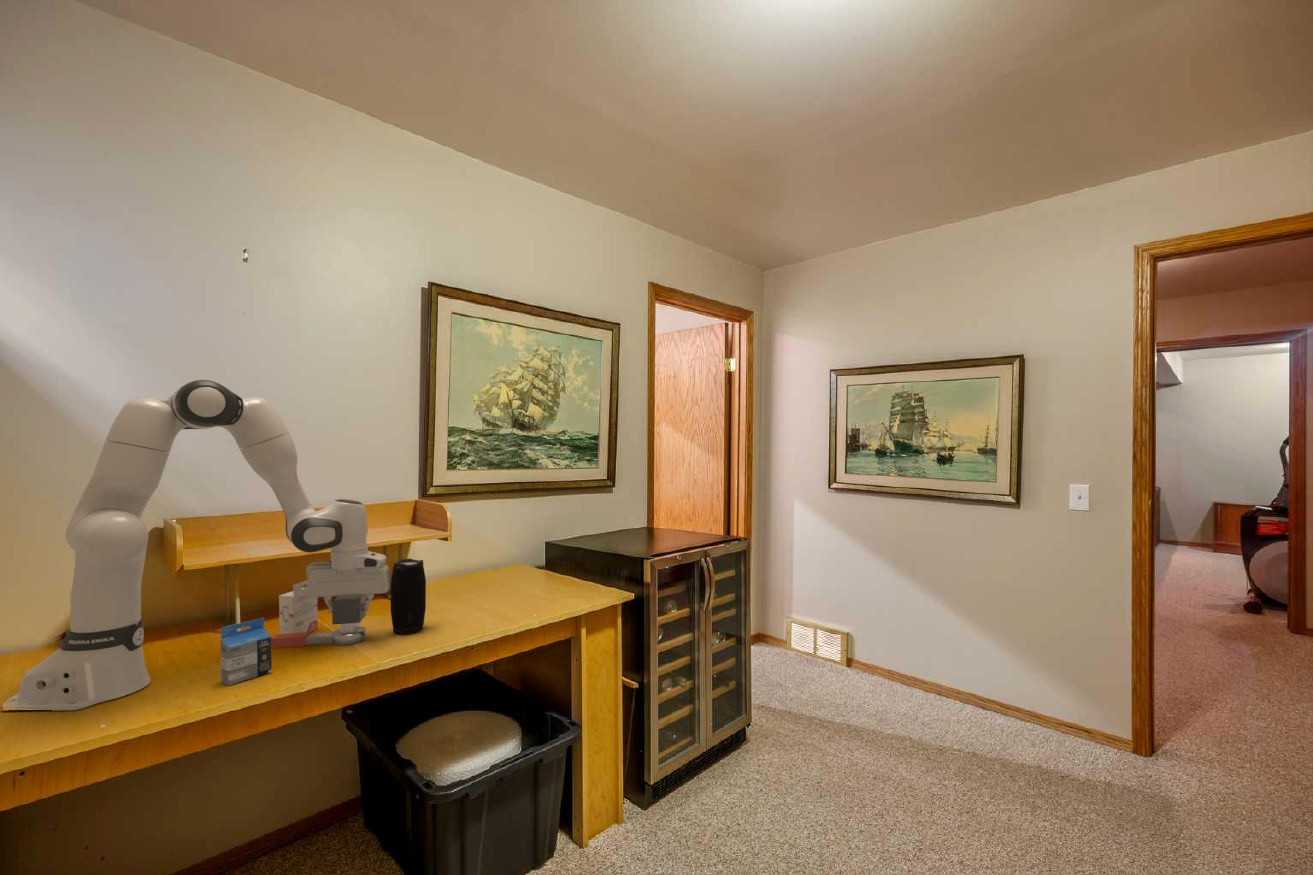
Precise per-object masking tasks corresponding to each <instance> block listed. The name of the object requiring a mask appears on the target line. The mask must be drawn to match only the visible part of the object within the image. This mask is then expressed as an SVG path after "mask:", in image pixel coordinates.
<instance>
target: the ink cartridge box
mask: <svg viewBox="0 0 1313 875" xmlns="http://www.w3.org/2000/svg"><path fill="white" fill-rule="evenodd" d="M305 585H306V586H307V580H304V581H302V582H301V581H300V582H299V583H295V584H293V585H292V589H293V590H292V591H290V592H286V593H284V594H283V593H282V594H280V595H278V606H279V608H278V610H279V611H278V612H279V614H278V616H279V617H278V619H279V620H278V621H279V623H278V624H279V634H289V633H304V632H310V633H313V632H314V631H317V630H318V628H319V626H318V620H319V619H318V618H319V617H318V615H319V614H318V609H319V608H318V597H311V598H310V597H308V596H307V595H306V587H304V586H305Z"/></svg>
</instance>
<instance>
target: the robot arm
mask: <svg viewBox="0 0 1313 875" xmlns="http://www.w3.org/2000/svg"><path fill="white" fill-rule="evenodd" d="M215 427H220V428H223V429H225V430H226V431H228V432H229V433H230V435H231V436H232V437H233V439H234V441H235V443H236V445H237V446H238V449H239V451H240V452H241V454H242V456H243V458H244V459H245V460H246V462H247V464H248V465H249V467H251V469H252V470H253V471H254V472H255V473H256V475H258V476H259V477H260V478H261V479H262V480H264V481H265V482H266V484H268V486H270V488H271V490H272V492H273V493H274V495H275V497H276V499H277V502H278V503H279V505H280V507H281V508H282V511H283V514H284V516H285V535H286V537H287V539H288V540H289V542H290V543H291V544H292V545H293V547H295V548H296V549H297V550H299V551H301V552H303V553H316V552H321V551H325V550H328V549H330V560H322V561H320V560H319V561H318V560H316V561H315V560H314V561H312V562H311V563H309V564H307V566H306V568H305V569H306V570H305V572H306V573H305V574H306V577H307V579H306V581H307V585H306V586H305V588H306V595H307V596H308V597H310V598H311V597H317V598H323V602H324V603H325V604H326V605H327V607H328V613H329V614H332V602H333V601H332V599H333V597H338V596H345V595H363V594H366V599H367V600H366V603H363V604H362V611H366V612H367V611H369V610H370V603H371V602H372V599H373V598H374V596H375V595H376V594H377V595H378V594H386V593H388V592H389V591H390V590H391V578H392V576H391V572H390V571H391V570H390V568H389V566H388V565H387V564H386V562H387V556H386V555H385V554H382V553H378V552H374V551H370V550H369V545H368V543H367V542H368V541H367V535H368V534H369V533H368V531H369V527H368V526H369V525H368V522H369V521H368V512H367V508H366V506H365V505H364V504H363V503H362V502H360V501H358V500H352V499H341V498H340V499H335V500H334V501H333V502H332V503H330V504H328V505H326V506H325V507H322V508H320V509H318V510H317V509H316V508H314V507H313V506H312V504H311V503H310V500H309V499H308V497H307V495H306V492H305V491H304V489H303V487H302V484H301V482H300V480H299V477H298V473H297V466H298V465H297V464H298V454H297V449H296V446H295V443H294V441H293V438H292V435H291V433H290V432H289V429H288V428H287V426H286V424H285V422H284V421H283V419H282V417H281V416H280V414H279V413H278V412H277V410H276V409H275V407H273V405H272V403H271V402H270V401H268V400H267V399H265V398H263V397H259V396H249V397H245V398H242V397H241V396H239V395H237V394H236V393H234V392H233V391H231V390H230V389H229V388H227V387H226V386H224V385H222V384H221V383H219V382H216V381H214V380H209V379H198V380H193V381H190V382H188V383H185V384H184V385H182V386H181V387H179V388H178V389H177V390H176V391H175V392H174V393H173V394H172V395H171V396H170V397H168V398H167V399H156V398H152V397H151V398H150V397H140V398H139V397H138V398H134V399H130V400H129V401H128V402H125V404H124V406H123V407H122V408H121V410H120V411H119V413H118V415H117V416H116V417H115V419H114V421H113V423H112V425H111V427H110V429H109V431H108V434H107V435H106V439H105V441H104V443H103V446H102V448H101V451H100V454H99V456H98V460H97V463H96V464H95V468H94V471H93V472H92V475H91V478H90V479H89V482H88V483H87V485H86V487H85V489H84V490H83V492H82V495H81V497H80V499H79V501H78V503H77V505H76V507H75V509H74V511H73V513H72V516H71V517H70V520H69V522H68V524H67V527H66V530H65V540H66V543H67V544H68V546H69V547H70V548H71V550H73V551H74V553H75V556H74V557H75V558H74V570H73V579H72V585H71V590H70V596H69V597H70V599H69V600H70V604H69V606H70V609H69V610H70V614H69V615H70V617H69V618H70V619H69V620H70V621H69V622H70V623H69V624H70V625H69V629H67V630H66V631H63V632H62V633H61V634H59V635H56V636H54V637H53V639H55V640H54V641H53V643H57V642H61V644H60V645H59V648H58V649H56V650H55V651H54V652H52V653H51V654H50V655H48V656H47V657H45V658H44V659H42V660H41V661H40V662H38V663H37V664H36V665H34V666H33V667H32V668H30V669H29V670H27V671H26V673H24V675H23V677H22V678H21V681H20V685H19V688H18V692H17V693H16V694H14V695H13V696H11V697H9V698H8V699H7V700H5V701H4V702H3V703H2V706H1V708H2V707H14V708H25V709H35V710H52V711H77V710H81V709H85V708H88V707H90V706H93V705H96V704H99V703H100V704H101V703H103V702H108V701H111V700H115V699H118V698H121V697H126V696H127V695H131V694H133V693H135V692H137V691H139V690H142V689H143V688H145V687H147V686H148V685H149V684H150V683H151V681H152V679H151V678H150V675H149V672H148V670H147V666H146V662H145V658H144V657H145V656H144V652H143V644H144V639H145V638H144V636H145V632H144V628H145V626H144V619H143V618H142V616H141V615H142V580H143V574H144V570H145V569H144V568H145V564H146V556H147V548H148V542H149V530H148V528H147V525H146V523H145V522H144V520H142V518H141V517H142V515H143V513H144V512H145V511H144V510H145V508H146V506H147V505H148V503H149V501H150V500H151V498H152V496H153V495H154V493H155V492H156V491H157V489H158V487H159V485H160V481H161V479H162V477H163V474H164V471H165V468H166V464H167V461H168V459H169V456H170V453H171V450H172V447H173V444H174V441H175V439H176V438H177V435H178V434H179V433H180V432H181V431H182V430H206V429H212V428H215ZM7 701H8V702H7ZM10 701H13V702H10ZM6 702H7V703H6Z"/></svg>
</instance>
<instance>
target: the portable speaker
mask: <svg viewBox="0 0 1313 875" xmlns="http://www.w3.org/2000/svg"><path fill="white" fill-rule="evenodd" d="M391 572H392V573H391V588H390V616H391V623H392V625H391V626H392V631H393V633H396V632H399V633H400V634H401V635H402V636H405V635H413V634H416V633H417V632H418V630H421V629H423V628H424V625H425V618H426V616H425V615H426V607H427V605H426V604H427V603H426V600H427V595H426V594H427V578H426V573H425V568H424V559H420V560H417V559H413V558H403V559H399V560H398V561H396V562H394V563H393V566H392V571H391Z"/></svg>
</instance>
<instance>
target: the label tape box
mask: <svg viewBox="0 0 1313 875" xmlns="http://www.w3.org/2000/svg"><path fill="white" fill-rule="evenodd" d="M264 626H265V617H260V618H256V619H252V620H247V621H243V622H239V623H235V624H230V625H227V626H222V627H221V628H220V682H221V683H222V684H223V685H226V686H233V685H236V684H238V683H241V682H244V681H247V680H252V679H254V678H258V677H260V676H265V675H267V674H270V673H272V672H273V671H272V670H273V669H272V667H273V666H272V665H273V664H272V659H273V658H272V657H273V656H272V648H271V638H272V636H271V634H269V632H268V631H267V630H266V628H265V627H264ZM242 627H245V629H242ZM247 627H249V628H247ZM238 629H241V630H238ZM237 630H238V631H237Z"/></svg>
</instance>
